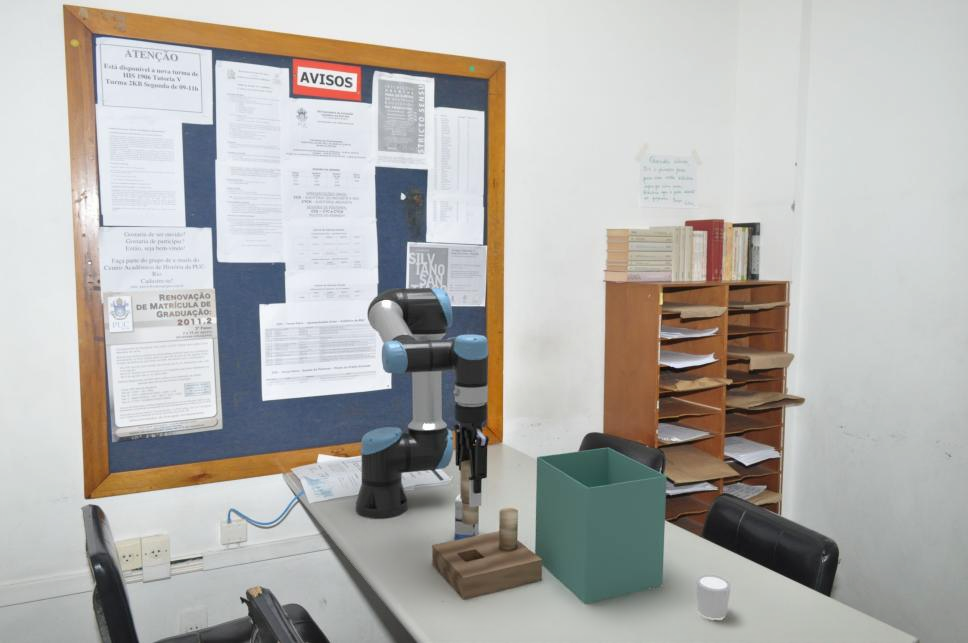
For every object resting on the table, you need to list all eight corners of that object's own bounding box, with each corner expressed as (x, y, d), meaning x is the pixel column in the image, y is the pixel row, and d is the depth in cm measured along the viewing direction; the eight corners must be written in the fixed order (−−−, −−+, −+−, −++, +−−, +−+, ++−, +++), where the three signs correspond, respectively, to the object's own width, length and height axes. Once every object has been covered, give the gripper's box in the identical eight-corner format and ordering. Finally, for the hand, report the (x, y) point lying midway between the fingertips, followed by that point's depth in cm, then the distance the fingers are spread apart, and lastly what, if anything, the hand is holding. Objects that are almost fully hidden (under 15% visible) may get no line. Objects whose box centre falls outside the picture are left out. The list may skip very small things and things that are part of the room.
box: (535, 558, 166) (536, 456, 164) (605, 544, 175) (608, 447, 172) (584, 604, 145) (587, 488, 142) (662, 585, 153) (666, 476, 150)
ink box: (472, 546, 173) (472, 501, 172) (453, 544, 174) (454, 500, 173) (479, 532, 181) (479, 490, 180) (461, 530, 182) (461, 488, 181)
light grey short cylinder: (689, 605, 145) (691, 575, 144) (720, 604, 145) (722, 573, 145) (702, 623, 138) (704, 591, 137) (735, 622, 139) (736, 590, 138)
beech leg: (457, 519, 156) (457, 461, 155) (474, 516, 158) (475, 459, 157) (465, 526, 152) (465, 467, 151) (483, 523, 154) (483, 464, 153)
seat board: (432, 564, 162) (432, 509, 161) (504, 548, 171) (505, 496, 170) (463, 599, 146) (463, 538, 145) (541, 580, 155) (542, 522, 154)
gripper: (441, 397, 159) (441, 492, 161) (472, 412, 143) (472, 518, 145) (469, 394, 162) (469, 487, 164) (503, 409, 146) (502, 512, 149)
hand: (470, 501), depth 155 cm, fingers closed on beech leg, 4 cm apart
